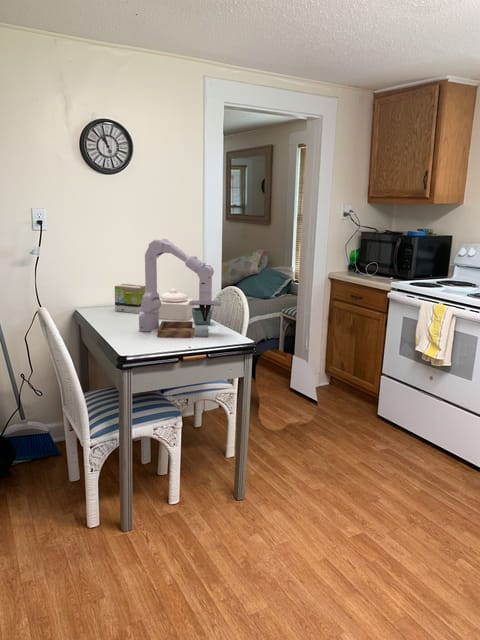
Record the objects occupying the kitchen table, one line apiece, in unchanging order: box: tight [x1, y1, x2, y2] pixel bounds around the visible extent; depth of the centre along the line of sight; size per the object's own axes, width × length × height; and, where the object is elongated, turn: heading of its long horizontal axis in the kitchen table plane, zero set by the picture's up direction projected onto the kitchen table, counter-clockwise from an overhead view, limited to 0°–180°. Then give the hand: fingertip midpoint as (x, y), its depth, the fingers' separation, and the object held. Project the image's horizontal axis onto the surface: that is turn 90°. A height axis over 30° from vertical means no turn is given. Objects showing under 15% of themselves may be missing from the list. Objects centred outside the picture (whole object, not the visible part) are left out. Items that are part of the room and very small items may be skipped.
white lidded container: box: [159, 287, 195, 321], centre depth 275 cm, size 18×18×16 cm
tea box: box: [114, 283, 146, 314], centre depth 286 cm, size 15×10×15 cm, turn 73°
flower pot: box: [192, 306, 213, 326], centre depth 254 cm, size 9×9×9 cm
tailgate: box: [193, 325, 209, 338], centre depth 236 cm, size 2×17×6 cm
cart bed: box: [156, 320, 195, 339], centre depth 235 cm, size 16×20×4 cm
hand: (204, 320), depth 235 cm, fingers closed
